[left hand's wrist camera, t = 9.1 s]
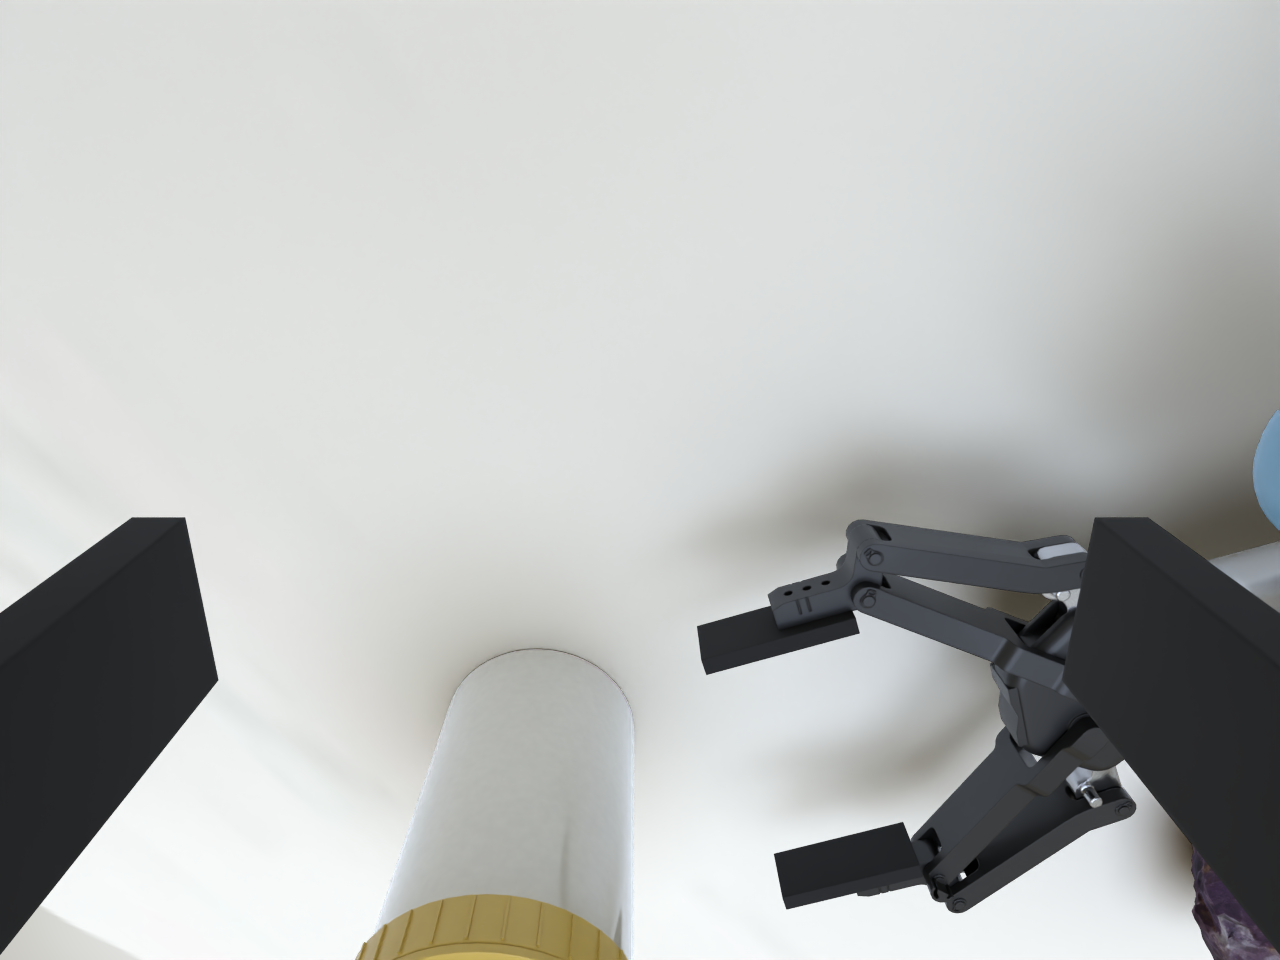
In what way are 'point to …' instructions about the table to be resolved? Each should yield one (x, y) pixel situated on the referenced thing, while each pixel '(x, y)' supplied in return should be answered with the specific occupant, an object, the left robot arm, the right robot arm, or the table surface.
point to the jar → (528, 795)
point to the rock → (1225, 919)
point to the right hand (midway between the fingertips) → (742, 772)
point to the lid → (489, 932)
